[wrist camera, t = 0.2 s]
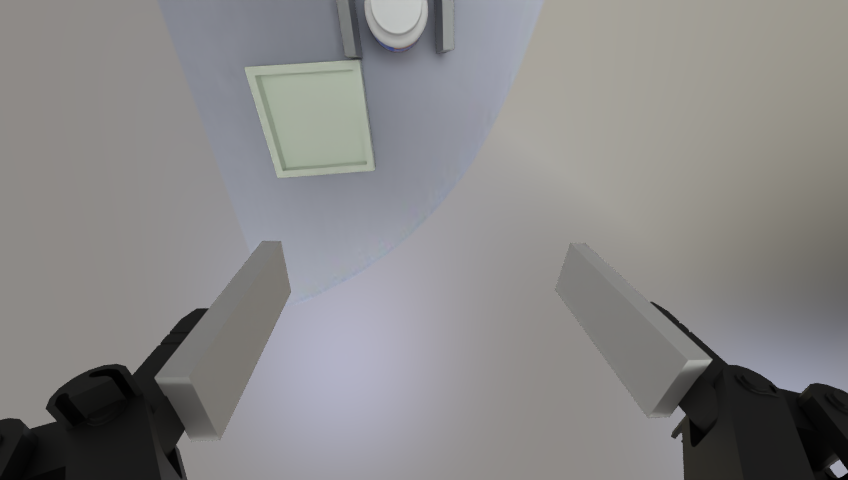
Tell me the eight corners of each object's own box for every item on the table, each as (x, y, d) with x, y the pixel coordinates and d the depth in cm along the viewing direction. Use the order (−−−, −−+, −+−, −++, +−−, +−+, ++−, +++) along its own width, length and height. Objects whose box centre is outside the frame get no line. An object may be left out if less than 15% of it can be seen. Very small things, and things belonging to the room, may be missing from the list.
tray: (252, 67, 32) (243, 67, 31) (361, 60, 33) (359, 59, 31) (283, 173, 38) (277, 178, 36) (375, 166, 38) (374, 170, 37)
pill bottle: (398, 64, 33) (398, 62, 25) (359, 21, 31) (345, 3, 23) (433, 21, 32) (446, 4, 23) (394, -27, 30) (394, -66, 21)
